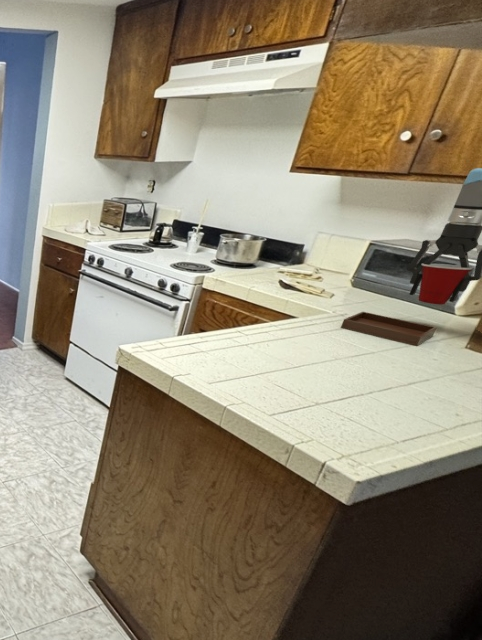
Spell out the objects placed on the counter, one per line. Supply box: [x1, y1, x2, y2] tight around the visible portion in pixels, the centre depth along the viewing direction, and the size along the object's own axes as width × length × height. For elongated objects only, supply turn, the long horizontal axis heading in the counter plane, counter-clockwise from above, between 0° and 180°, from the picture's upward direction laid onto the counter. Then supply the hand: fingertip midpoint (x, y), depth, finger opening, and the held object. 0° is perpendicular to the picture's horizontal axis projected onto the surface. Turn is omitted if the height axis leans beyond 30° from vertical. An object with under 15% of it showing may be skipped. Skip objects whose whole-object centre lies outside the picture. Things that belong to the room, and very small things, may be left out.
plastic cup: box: [418, 263, 475, 306], centre depth 145 cm, size 11×11×12 cm
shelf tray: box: [340, 311, 438, 347], centre depth 144 cm, size 17×16×3 cm
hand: (431, 297), depth 147 cm, fingers closed on plastic cup, 8 cm apart
